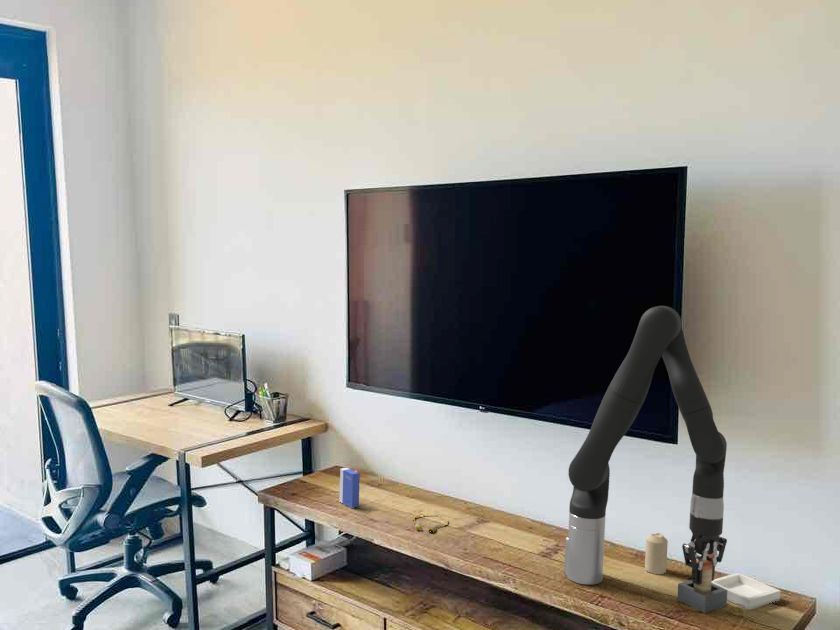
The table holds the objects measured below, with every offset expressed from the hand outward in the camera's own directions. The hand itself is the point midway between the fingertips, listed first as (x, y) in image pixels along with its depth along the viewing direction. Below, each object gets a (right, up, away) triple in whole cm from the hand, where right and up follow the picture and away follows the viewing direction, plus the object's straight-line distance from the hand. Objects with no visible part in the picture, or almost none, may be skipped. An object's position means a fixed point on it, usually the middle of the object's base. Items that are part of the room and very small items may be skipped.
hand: (702, 581), depth 178 cm
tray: (+12, -5, +5) cm, 14 cm away
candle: (-5, -4, +19) cm, 20 cm away
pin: (0, -5, 0) cm, 5 cm away
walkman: (-93, +1, +66) cm, 114 cm away
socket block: (0, -5, 0) cm, 5 cm away
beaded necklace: (-66, -1, +51) cm, 83 cm away
